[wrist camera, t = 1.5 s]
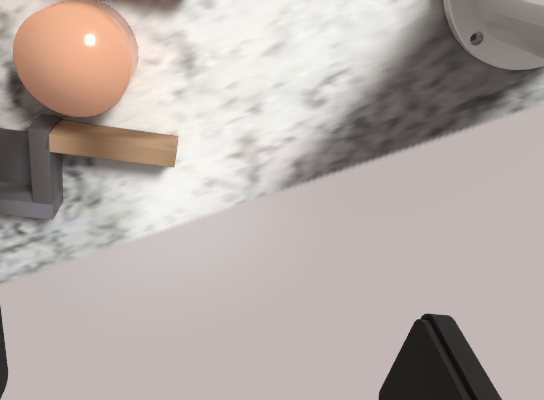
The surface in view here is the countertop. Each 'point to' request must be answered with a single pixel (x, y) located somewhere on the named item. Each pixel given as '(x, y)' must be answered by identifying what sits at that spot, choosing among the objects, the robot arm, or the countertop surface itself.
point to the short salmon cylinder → (76, 56)
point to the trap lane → (48, 159)
